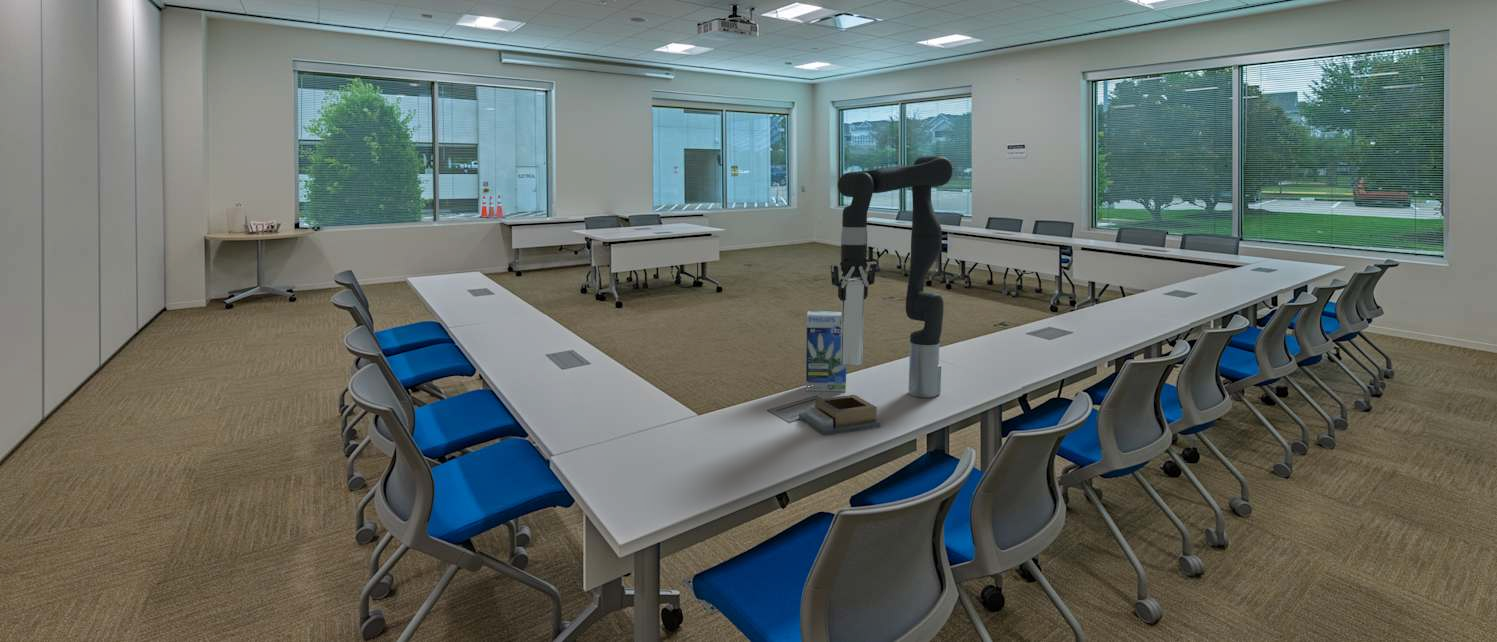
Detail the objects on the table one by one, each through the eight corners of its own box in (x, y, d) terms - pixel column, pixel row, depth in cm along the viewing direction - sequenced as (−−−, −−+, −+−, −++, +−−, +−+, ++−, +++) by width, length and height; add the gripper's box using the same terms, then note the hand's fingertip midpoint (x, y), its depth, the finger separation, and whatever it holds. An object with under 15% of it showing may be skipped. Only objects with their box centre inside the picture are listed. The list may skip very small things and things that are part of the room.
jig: (853, 410, 222) (853, 393, 221) (880, 426, 207) (880, 408, 206) (799, 418, 216) (799, 400, 215) (823, 435, 201) (823, 416, 200)
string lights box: (806, 391, 242) (806, 315, 237) (806, 385, 250) (806, 310, 245) (846, 392, 241) (847, 315, 236) (845, 385, 248) (846, 310, 243)
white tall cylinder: (861, 366, 214) (863, 281, 210) (839, 365, 216) (841, 280, 211) (862, 361, 221) (865, 278, 216) (841, 360, 222) (843, 278, 217)
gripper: (869, 241, 218) (867, 296, 221) (825, 242, 213) (824, 299, 216) (882, 242, 211) (880, 300, 214) (837, 244, 206) (836, 303, 209)
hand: (852, 299), depth 215 cm, fingers closed on white tall cylinder, 6 cm apart
